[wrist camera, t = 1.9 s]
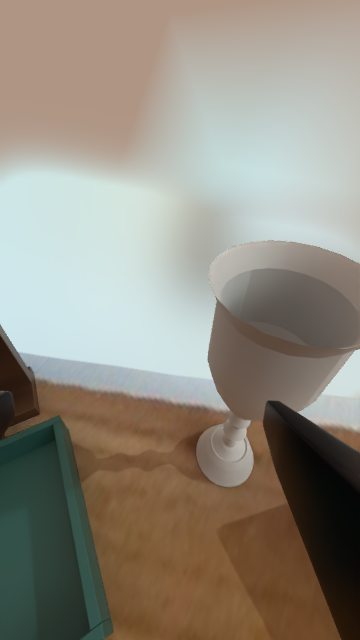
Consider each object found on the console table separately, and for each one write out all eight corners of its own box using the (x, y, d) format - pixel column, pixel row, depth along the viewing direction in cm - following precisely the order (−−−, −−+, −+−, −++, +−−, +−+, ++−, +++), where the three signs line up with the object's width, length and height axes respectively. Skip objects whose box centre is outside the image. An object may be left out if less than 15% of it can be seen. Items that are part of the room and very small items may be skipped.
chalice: (211, 401, 25) (251, 229, 13) (275, 441, 22) (401, 268, 10) (169, 466, 21) (171, 292, 9) (243, 526, 18) (400, 393, 6)
